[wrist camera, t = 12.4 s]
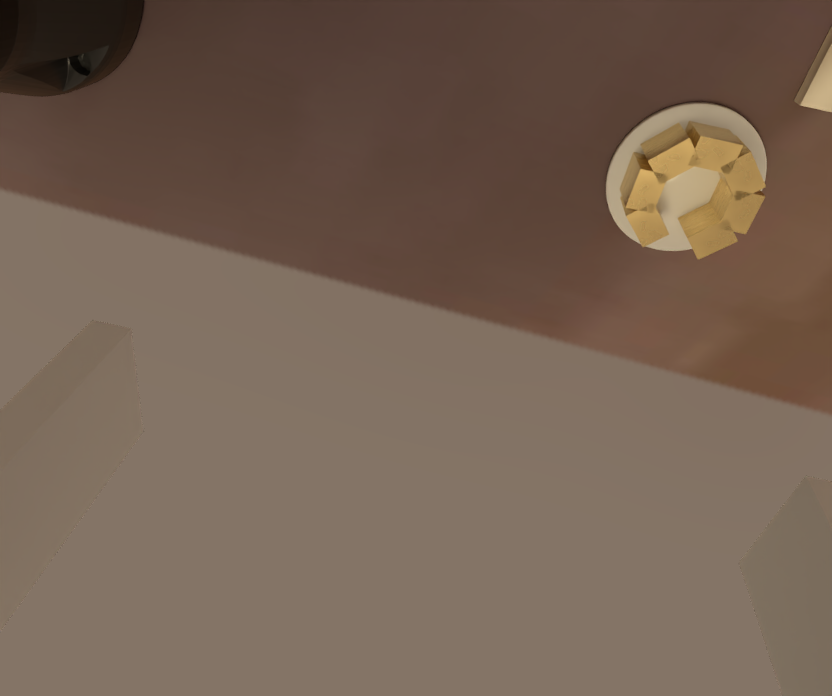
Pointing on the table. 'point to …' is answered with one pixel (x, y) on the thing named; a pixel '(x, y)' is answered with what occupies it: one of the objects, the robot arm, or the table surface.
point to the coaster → (687, 186)
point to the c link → (678, 154)
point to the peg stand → (818, 80)
